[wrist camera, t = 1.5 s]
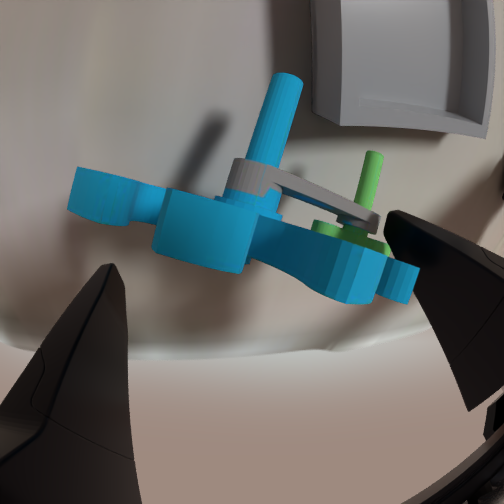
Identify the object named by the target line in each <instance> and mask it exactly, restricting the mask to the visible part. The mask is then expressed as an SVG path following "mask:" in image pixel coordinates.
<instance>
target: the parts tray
mask: <svg viewBox="0 0 504 504" xmlns="http://www.w3.org/2000/svg"><path fill="white" fill-rule="evenodd" d="M310 9H311V33H312V112H313V113H315V114H317V115H319V116H321V117H324V118H326V119H328V120H330V121H332V122H334V123H336V124H337V125H339V126H378V127H397V128H410V129H421V130H430V131H439V132H446V133H454V134H460V135H466V136H472V137H478V138H483V139H486V135H487V130H488V125H489V119H490V112H491V105H492V97H493V88H494V76H495V54H496V38H495V17H494V6H493V0H310Z"/></svg>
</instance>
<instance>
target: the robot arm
mask: <svg viewBox="0 0 504 504" xmlns="http://www.w3.org/2000/svg"><path fill="white" fill-rule="evenodd" d="M502 199H503V200H504V193H503V196H502ZM383 233H384V237H385V239H386V241H387V243H388V245H389V247H390V249H391V251H392V253H393V255H394V257H395V259H396V260H398V261H401V262H404V263H407V264H410V265H412V266H415V267H418V268H420V270H419V273H418V276H417V279H416V282H415V285H414V288H413V292H414V294H415V296H416V297H417V299H418V301H419V303H420V305H421V307H422V309H423V310H424V312H425V314H426V316H427V318H428V320H429V322H430V324H431V326H432V328H433V330H434V332H435V334H436V336H437V338H438V340H439V343H440V345H441V347H442V349H443V351H444V353H445V355H446V358H447V360H448V362H449V364H450V367H451V370H452V372H453V374H454V377H455V379H456V382H457V384H458V387H459V389H460V392H461V395H462V397H463V400H464V403H465V406H466V408H467V410H468V412H469V411H471V410H472V409H474V408H475V407H477V406H478V405H479V404H481V403H482V402H484V401H485V400H486V399H487V398H489V397H490V396H491V395H493V394H494V393H495V392H496V391H498V390H499V389H500V388H502V390H503V393H502V394H501V395H500V396H499V397H498V398H497V399H496V400H495V401H494V402H493V403H492V404H491V405H490V406H489V407H488V408H487V415H486V422H485V427H484V433H483V435H484V437H485V439H486V442H485V443H483V444H482V445H481V446H480V447H479V448H478V449H477V450H476V451H475V452H473V453H472V454H471V455H470V456H469V457H468V458H466V459H465V460H464V461H463V462H462V463H460V464H459V465H458V466H457V467H455V468H454V469H453V470H451V471H450V472H449V473H447V474H446V475H445V476H443V477H442V478H441V479H439V480H438V481H436V482H435V483H433V484H432V485H431V486H429V487H428V488H426V489H425V490H423V491H421V492H420V493H418V494H417V495H415V496H414V497H412V498H410V499H408V500H407V501H405V502H403V503H402V504H504V258H503V257H501V256H499V255H497V254H495V253H493V252H491V251H489V250H487V249H485V248H483V247H480V246H479V245H477V244H475V243H473V242H471V241H469V240H467V239H465V238H462V237H460V236H458V235H456V234H454V233H452V232H450V231H447V230H445V229H443V228H441V227H439V226H436V225H434V224H432V223H429V222H427V221H425V220H422V219H420V218H418V217H415V216H413V215H410V214H408V213H405V212H403V211H400V210H394V211H390V212H389V213H388V214H387V218H386V222H385V226H384V231H383ZM40 347H41V348H38V350H37V351H36V353H35V354H34V356H33V358H32V359H31V360H30V362H29V364H28V365H27V366H26V368H25V370H24V371H23V372H22V374H21V375H20V377H19V378H18V380H17V381H16V383H15V384H14V386H13V387H12V388H11V390H10V391H9V393H8V394H7V396H6V397H5V399H4V400H3V402H2V403H1V405H0V504H142V501H141V496H140V491H139V486H138V479H137V473H136V467H135V461H134V453H133V445H132V436H131V425H130V412H129V395H128V328H127V315H126V298H125V286H124V282H123V280H122V278H121V276H120V274H119V272H118V270H117V267H116V266H115V264H113V263H109V264H104V265H101V266H100V267H99V268H98V270H97V271H96V272H95V273H94V274H93V276H92V277H91V278H90V279H89V281H88V282H87V283H86V284H85V286H84V287H83V288H82V289H81V291H80V292H79V293H78V294H77V296H76V297H75V298H74V300H73V301H72V302H71V303H70V305H69V306H68V307H67V309H66V310H65V311H64V313H63V314H62V315H61V317H60V318H59V320H58V321H57V322H56V324H55V325H54V326H53V328H52V329H51V331H50V332H49V334H48V335H47V336H46V338H45V339H44V341H43V342H42V344H41V345H40ZM465 501H466V502H465Z"/></svg>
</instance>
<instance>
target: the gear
mask: <svg viewBox="0 0 504 504" xmlns="http://www.w3.org/2000/svg"><path fill="white" fill-rule="evenodd" d="M302 88H303V82H302V81H301V80H300V79H299V78H298V77H296V76H294V75H292V74H289V73H275V74H274V75H273V76H272V79H271V82H270V85H269V88H268V91H267V94H266V96H265V99H264V102H263V105H262V108H261V111H260V114H259V117H258V120H257V123H256V126H255V129H254V132H253V136H252V139H251V142H250V145H249V148H248V151H247V154H246V157H245V159H243V158H235V159H234V161H233V164H232V167H231V170H230V173H229V177H228V180H227V183H226V186H225V190H224V193H223V196H222V197H220V196H215V198H214V200H212V199H209V198H205V197H202V196H198V195H194V194H191V193H187V192H183V191H180V190H176V189H172V188H167V189H164V188H161V187H157V186H153V185H149V184H146V183H142V182H140V181H136V180H132V179H129V178H125V177H121V176H117V175H113V174H109V173H104V172H100V171H96V170H91V169H86V168H82V167H77V170H76V173H75V177H74V181H73V185H72V189H71V193H70V198H69V202H68V207H67V210H69V211H71V212H73V213H75V214H77V215H79V216H81V217H84V218H86V219H89V220H91V221H94V222H97V223H100V224H106V225H114V226H127V225H129V222H130V221H139V222H145V223H150V224H154V225H157V226H156V229H155V234H154V238H153V242H152V246H151V247H152V250H153V251H155V252H156V253H158V254H161V255H165V256H168V257H171V258H175V259H178V260H181V261H185V262H188V263H192V264H196V265H200V266H203V267H207V268H212V269H216V270H220V271H225V272H231V273H237V274H240V273H242V270H243V267H244V264H250V261H251V258H254V259H256V260H259V261H261V262H263V263H266V264H268V265H271V266H273V267H275V268H277V269H279V270H281V271H284V272H285V273H287V274H289V275H291V276H293V277H295V278H296V279H298V280H299V281H301V282H302V283H304V284H305V285H306V286H308V287H309V288H311V289H312V290H314V291H316V292H318V293H320V294H322V295H324V296H326V297H329V298H331V299H334V300H336V301H339V302H342V303H345V304H369V303H371V302H372V301H373V298H374V295H375V293H376V294H378V295H380V296H383V297H385V298H388V299H391V300H394V301H396V302H400V303H403V304H408V302H409V299H410V296H411V293H412V291H413V288H414V285H415V282H416V279H417V276H418V273H419V270H420V268H418V267H415V266H412V265H410V264H407V263H404V262H401V261H398V260H396V259H393V258H390V257H389V255H390V252H391V249H390V247H389V245H388V244H386V243H383V242H380V241H377V240H374V239H371V238H368V237H367V235H368V233H370V234H374V235H376V233H377V229H378V226H379V222H380V219H381V216H380V215H378V214H376V213H374V212H372V211H371V208H372V204H373V200H374V196H375V192H376V188H377V184H378V180H379V176H380V172H381V167H382V163H383V158H384V156H383V155H382V154H380V153H378V152H375V151H367V152H366V155H365V160H364V164H363V168H362V172H361V176H360V180H359V184H358V188H357V192H356V195H355V199H354V202H352V201H350V200H348V199H346V198H344V197H342V196H340V195H338V194H336V193H333V192H331V191H329V190H327V189H325V188H323V187H320V186H318V185H316V184H314V183H311V182H309V181H307V180H305V179H302V178H300V177H298V176H295V175H293V174H290V173H288V172H286V171H283V170H281V169H278V168H279V165H280V161H281V158H282V155H283V151H284V148H285V145H286V141H287V138H288V135H289V131H290V128H291V125H292V121H293V118H294V115H295V111H296V108H297V105H298V101H299V98H300V95H301V91H302ZM282 193H283V194H285V195H288V196H291V197H293V198H296V199H299V200H301V201H304V202H306V203H309V204H312V205H314V206H317V207H319V208H322V209H324V210H327V211H329V212H332V213H334V214H336V215H338V217H337V220H336V222H338V223H340V224H342V225H343V228H340V227H337V226H335V225H332V224H329V223H326V222H323V221H319V220H315V219H314V221H313V224H312V227H311V230H308V229H305V228H302V227H298V226H295V225H292V224H288V223H285V222H282V221H281V219H282V215H280V214H278V213H276V211H277V208H278V204H279V201H280V198H281V194H282Z"/></svg>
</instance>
